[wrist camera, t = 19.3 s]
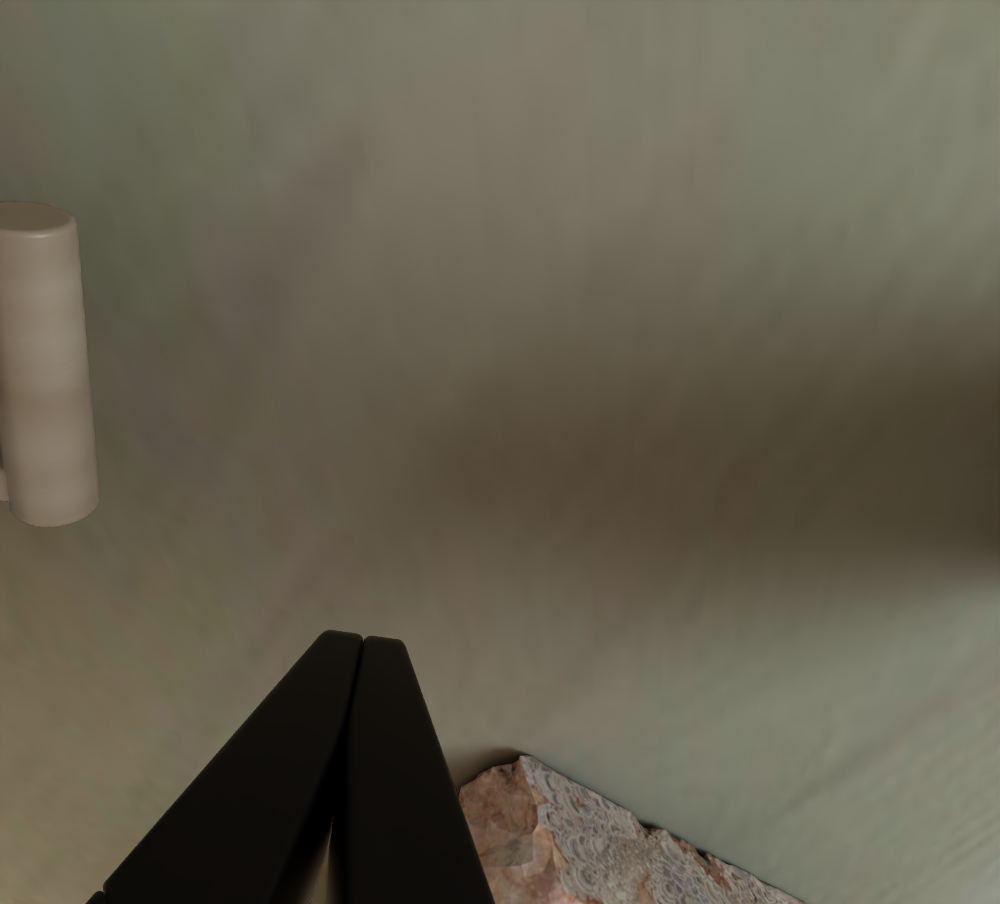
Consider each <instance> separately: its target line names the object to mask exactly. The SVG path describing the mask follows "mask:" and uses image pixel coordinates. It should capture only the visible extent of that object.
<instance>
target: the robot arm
mask: <svg viewBox="0 0 1000 904" xmlns="http://www.w3.org/2000/svg"><path fill="white" fill-rule="evenodd" d="M333 816H334V817H333ZM332 822H333V824H332ZM331 827H332V831H331ZM330 832H331V838H330V845H329V854H328V866H327V879H326V896H325V904H495V901H494V898H493V895H492V892H491V889H490V886H489V884H488V881H487V878H486V875H485V872H484V869H483V866H482V864H481V861H480V858H479V855H478V852H477V849H476V846H475V843H474V841H473V838H472V835H471V832H470V829H469V826H468V823H467V821H466V818H465V815H464V812H463V809H462V806H461V803H460V801H459V798H458V795H457V792H456V789H455V786H454V783H453V781H452V778H451V775H450V772H449V769H448V766H447V763H446V760H445V758H444V755H443V752H442V749H441V746H440V743H439V740H438V738H437V735H436V732H435V729H434V726H433V723H432V720H431V718H430V715H429V712H428V709H427V706H426V703H425V700H424V697H423V695H422V692H421V689H420V686H419V683H418V680H417V677H416V675H415V672H414V669H413V666H412V663H411V660H410V657H409V655H408V652H407V649H406V646H405V645H404V643H403V642H402V641H401V640H398V639H392V638H385V637H378V636H368V637H366V638H365V639H364V642H363V638H362V636H361V635H360V634H356V633H349V632H342V631H335V630H327V631H324V632H323V633H322V634H321V635H320V636H319V637H318V638H317V639H316V640H315V641H314V643H313V644H312V645H311V646H310V647H309V648H308V649H307V651H306V652H305V653H304V654H303V655H302V656H301V658H300V659H299V660H298V661H297V662H296V663H295V664H294V666H293V667H292V668H291V669H290V670H289V671H288V672H287V674H286V675H285V676H284V677H283V678H282V679H281V680H280V682H279V683H278V684H277V685H276V686H275V687H274V689H273V690H272V691H271V692H270V693H269V694H268V695H267V697H266V698H265V699H264V700H263V701H262V702H261V703H260V705H259V706H258V707H257V708H256V709H255V710H254V711H253V713H252V714H251V715H250V716H249V717H248V718H247V720H246V721H245V722H244V723H243V724H242V725H241V726H240V728H239V729H238V730H237V731H236V732H235V733H234V734H233V736H232V737H231V738H230V739H229V740H228V741H227V743H226V744H225V745H224V746H223V747H222V748H221V749H220V751H219V752H218V753H217V754H216V755H215V756H214V757H213V759H212V760H211V761H210V762H209V763H208V764H207V765H206V767H205V768H204V769H203V770H202V771H201V772H200V774H199V775H198V776H197V777H196V778H195V779H194V780H193V782H192V783H191V784H190V785H189V786H188V787H187V788H186V790H185V791H184V792H183V793H182V794H181V795H180V796H179V798H178V799H177V800H176V801H175V802H174V803H173V805H172V806H171V807H170V808H169V809H168V810H167V811H166V813H165V814H164V815H163V816H162V817H161V818H160V819H159V821H158V822H157V823H156V824H155V825H154V826H153V828H152V829H151V830H150V831H149V832H148V833H147V834H146V836H145V837H144V838H143V839H142V840H141V841H140V842H139V844H138V845H137V846H136V847H135V848H134V849H133V850H132V852H131V853H130V854H129V855H128V856H127V857H126V859H125V860H124V861H123V862H122V863H121V864H120V865H119V867H118V868H117V869H116V870H115V871H114V872H113V873H112V875H111V876H110V877H109V878H108V879H107V880H106V881H105V883H104V885H103V892H102V891H97V892H96V893H95V894H94V895H93V896H92V897H91V898H90V899H89V900H88V902H87V903H86V904H311V901H312V898H313V894H314V891H315V888H316V885H317V881H318V878H319V875H320V871H321V868H322V864H323V861H324V857H325V853H326V850H327V846H328V841H329V836H330Z"/></svg>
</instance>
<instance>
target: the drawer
mask: <svg viewBox="0 0 1000 904" xmlns="http://www.w3.org/2000/svg"><path fill="white" fill-rule="evenodd" d="M0 500H1V501H8V502H9V506H10V510H11V512H12V513H13V514H14V516H15V517H16V518H17V519H19V520H20V521H22V522H24V523H26V524H29V525H33V526H38V527H58V526H64V525H69V524H72V523H75V522H78V521H80V520H82V519H84V518H86V517H87V516H89V515H90V514H91V513H92V512H93V511H94V510H95V508H96V507H97V505H98V502H99V484H98V472H97V460H96V448H95V436H94V424H93V412H92V399H91V387H90V375H89V363H88V351H87V339H86V327H85V314H84V302H83V290H82V278H81V266H80V254H79V242H78V229H77V222H76V220H75V218H74V217H73V215H72V214H70V213H69V212H67V211H65V210H63V209H60V208H57V207H54V206H50V205H46V204H40V203H33V202H19V201H10V202H0Z"/></svg>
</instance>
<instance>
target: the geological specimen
mask: <svg viewBox="0 0 1000 904" xmlns="http://www.w3.org/2000/svg"><path fill="white" fill-rule="evenodd" d="M458 798H459V801H460V803H461V806H462V809H463V812H464V815H465V818H466V821H467V823H468V826H469V829H470V832H471V835H472V838H473V841H474V843H475V846H476V849H477V852H478V855H479V858H480V861H481V864H482V866H483V869H484V872H485V875H486V878H487V881H488V884H489V886H490V889H491V892H492V895H493V898H494V901H495V904H806V903H804V902H802V901H800V900H798V899H796V898H794V897H793V896H791V895H789V894H787V893H785V892H783V891H781V890H779V889H777V888H775V887H773V886H770V885H768V884H765V883H763V882H761V881H759V880H758V879H757V878H756V877H754V876H753V875H751V874H749V873H747V872H745V871H743V870H741V869H740V868H738V867H736V866H733V865H727V864H726V863H724V862H722V861H721V860H719V859H718V858H716V857H715V856H713V855H710V854H708V853H707V854H706V855H705V856H704V857H702V856H700V855H699V854H698V853H697V851H696V849H695V848H694V846H693V845H691V844H690V843H688V842H687V841H685V840H683V839H676V838H674V837H673V836H672V835H671V834H670V833H669V832H668V831H666V830H664V829H661V828H644V827H642V825H640V824H639V822H638V820H637V819H636V817H635V815H634V814H633V813H632V812H630V811H628V810H626V809H624V808H622V807H620V806H618V805H616V804H614V803H612V802H610V801H609V800H607V799H606V798H604V797H602V796H600V795H598V794H597V793H595V792H593V791H591V790H589V789H587V788H585V787H583V786H582V785H580V784H578V783H576V782H574V781H572V780H570V779H568V778H566V777H565V776H563V775H561V774H559V773H557V772H555V771H554V770H552V769H550V768H549V767H547V766H545V765H544V764H542V763H541V762H540V761H538V760H537V759H536V758H534V757H533V756H529V755H523V756H520V757H519V759H518V761H516V762H514V763H512V764H505V765H500V766H494V767H492V768H491V769H488V770H486V771H484V772H482V773H480V774H479V775H478V776H477V778H476V779H475V780H473V781H472V782H470V783H468V784H466V785H464V786H462V787H461V790H460V794H459V796H458Z"/></svg>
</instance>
